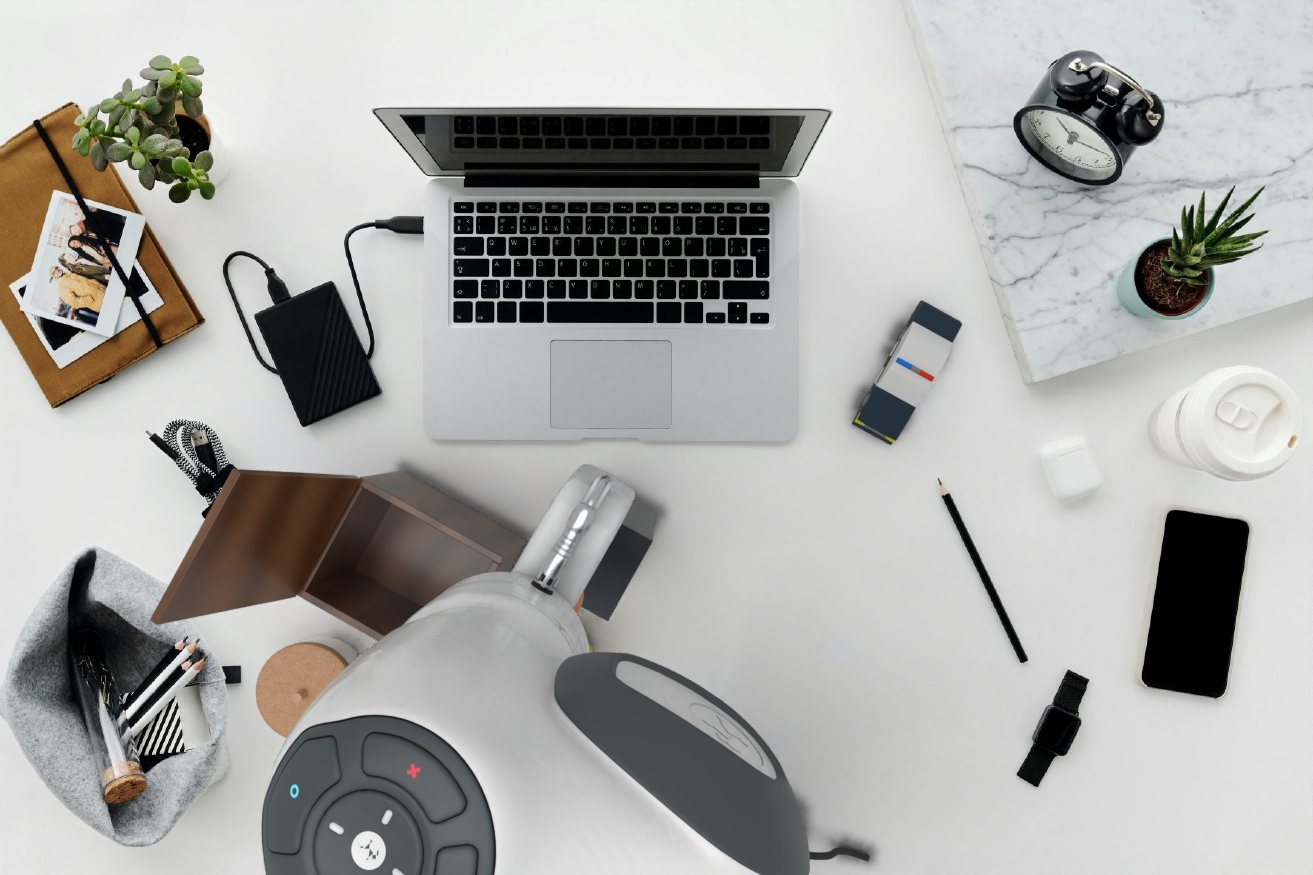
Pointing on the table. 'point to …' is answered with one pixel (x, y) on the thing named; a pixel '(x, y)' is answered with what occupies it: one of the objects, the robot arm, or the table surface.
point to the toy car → (907, 373)
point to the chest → (402, 552)
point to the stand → (620, 561)
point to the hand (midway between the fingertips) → (539, 604)
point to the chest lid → (256, 542)
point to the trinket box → (299, 679)
